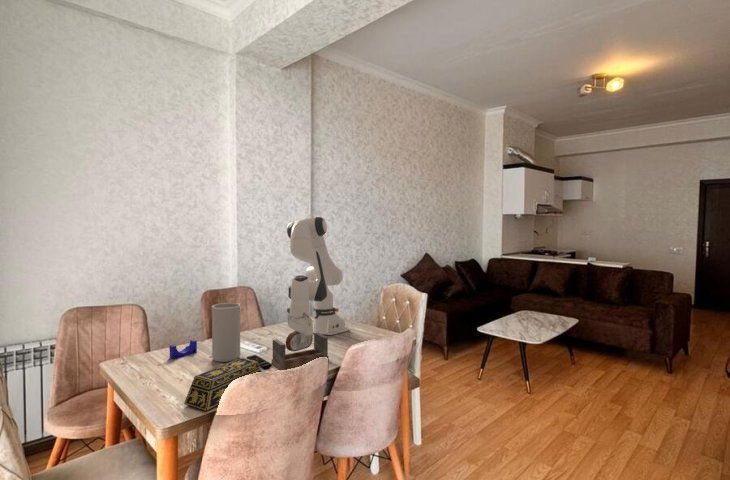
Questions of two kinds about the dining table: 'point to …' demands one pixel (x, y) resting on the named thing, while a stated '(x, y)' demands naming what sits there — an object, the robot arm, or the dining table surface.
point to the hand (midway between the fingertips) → (299, 341)
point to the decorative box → (217, 382)
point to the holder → (299, 353)
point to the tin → (297, 342)
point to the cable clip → (188, 350)
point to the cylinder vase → (225, 332)
